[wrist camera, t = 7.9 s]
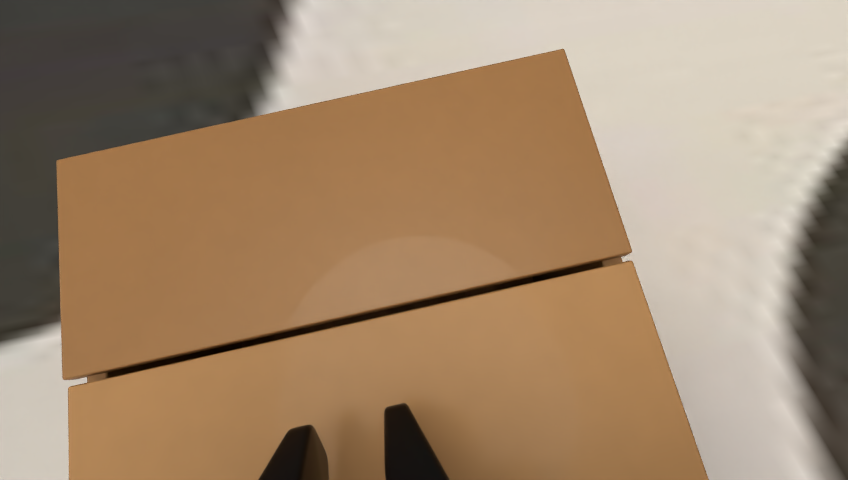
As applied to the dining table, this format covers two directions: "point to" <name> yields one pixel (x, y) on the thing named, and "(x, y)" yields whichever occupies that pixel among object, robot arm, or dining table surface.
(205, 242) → the carton
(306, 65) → the dining table surface
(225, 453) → the flap
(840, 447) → the dining table surface
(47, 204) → the dining table surface
